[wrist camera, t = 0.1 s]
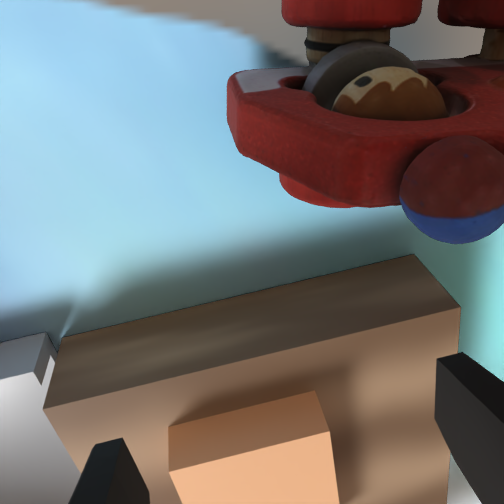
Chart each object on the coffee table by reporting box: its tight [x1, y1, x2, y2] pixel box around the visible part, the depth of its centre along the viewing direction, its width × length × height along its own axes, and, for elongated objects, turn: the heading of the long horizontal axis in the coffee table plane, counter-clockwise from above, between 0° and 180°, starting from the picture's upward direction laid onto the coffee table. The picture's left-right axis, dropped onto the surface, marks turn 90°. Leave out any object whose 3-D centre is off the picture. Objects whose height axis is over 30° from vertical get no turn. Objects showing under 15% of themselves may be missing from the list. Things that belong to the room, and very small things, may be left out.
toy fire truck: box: [227, 0, 504, 244], centre depth 13 cm, size 7×12×10 cm, turn 90°
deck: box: [42, 254, 461, 504], centre depth 23 cm, size 14×16×4 cm
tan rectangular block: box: [168, 390, 339, 504], centre depth 21 cm, size 9×6×2 cm, turn 10°
